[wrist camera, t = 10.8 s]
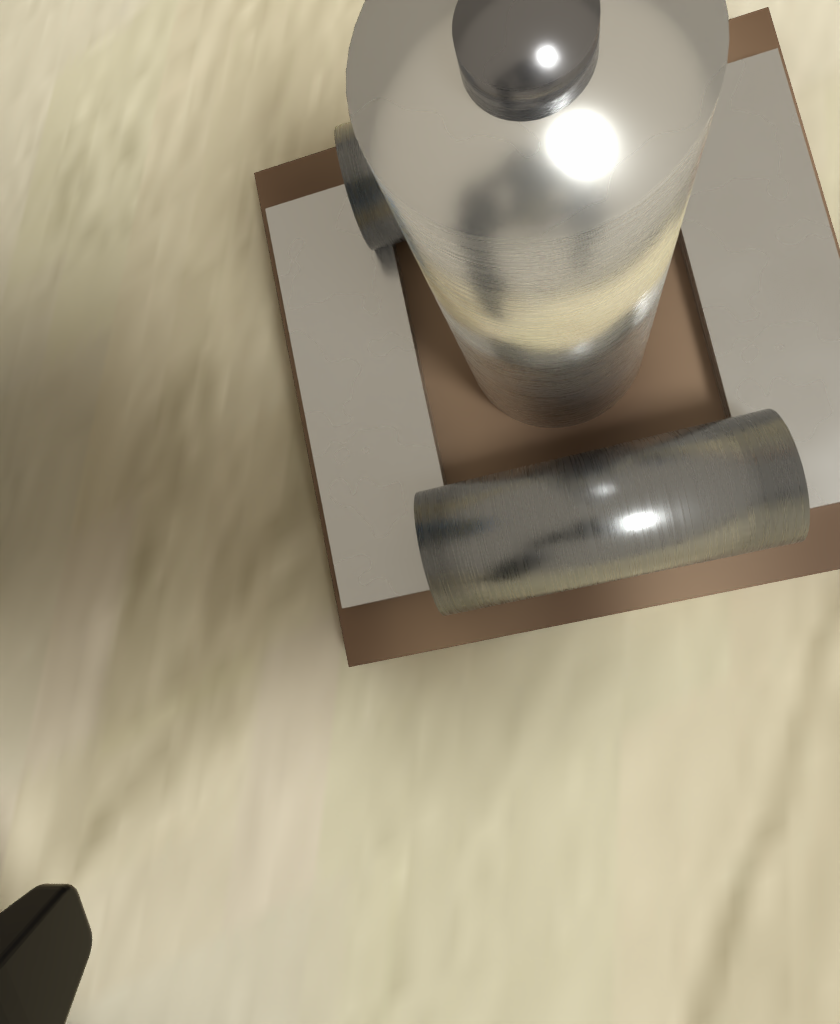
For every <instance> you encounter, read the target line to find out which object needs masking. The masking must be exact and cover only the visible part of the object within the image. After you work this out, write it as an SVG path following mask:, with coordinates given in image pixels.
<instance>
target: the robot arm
mask: <svg viewBox="0 0 840 1024" xmlns="http://www.w3.org/2000/svg"><path fill="white" fill-rule="evenodd" d="M91 947H92V932H91V928H90V925H89V923H88V920H87V917H86V914H85V911H84V908H83V905H82V902H81V900H80V897H79V894H78V892H77V890H76V888H74V887H73V886H72V885H69V884H42V885H39V886H37V887H35V888H33V889H32V890H30V891H29V892H28V893H26V894H25V895H24V896H22V897H21V898H20V899H18V900H17V901H16V902H14V903H13V904H12V905H10V906H9V907H8V908H6V909H5V910H4V911H2V912H1V913H0V1024H65V1022H66V1019H67V1016H68V1014H69V1011H70V1008H71V1005H72V1003H73V1000H74V997H75V994H76V991H77V989H78V986H79V983H80V980H81V978H82V975H83V972H84V969H85V967H86V964H87V961H88V958H89V955H90V952H91Z"/></svg>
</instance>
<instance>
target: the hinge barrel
mask: <svg viewBox="0 0 840 1024" xmlns="http://www.w3.org/2000/svg"><path fill="white" fill-rule="evenodd" d="M728 48H729V21H728V11H727V6H726V1H725V0H365V2H364V4H363V7H362V9H361V12H360V14H359V17H358V19H357V22H356V24H355V27H354V31H353V35H352V39H351V43H350V47H349V53H348V60H347V68H346V95H347V102H348V110H349V116H350V119H351V123H352V126H353V130H354V133H355V137H356V139H357V141H358V143H359V146H360V148H361V150H362V152H363V155H364V157H365V159H366V161H367V163H368V165H369V167H370V169H371V171H372V173H373V175H374V177H375V179H376V181H377V183H378V185H379V187H380V189H381V191H382V193H383V195H384V197H385V199H386V201H387V203H388V205H389V207H390V209H391V211H392V213H393V215H394V217H395V219H396V221H397V223H398V225H399V227H400V229H401V231H402V233H403V235H404V237H405V239H406V241H407V243H408V245H409V247H410V249H411V251H412V253H413V255H414V257H415V259H416V261H417V263H418V265H419V267H420V269H421V271H422V273H423V275H424V277H425V279H426V281H427V283H428V285H429V287H430V289H431V291H432V293H433V295H434V297H435V299H436V301H437V303H438V305H439V307H440V309H441V311H442V313H443V315H444V317H445V319H446V321H447V323H448V325H449V327H450V329H451V331H452V333H453V335H454V337H455V339H456V341H457V343H458V345H459V347H460V349H461V351H462V353H463V355H464V357H465V359H466V361H467V363H468V365H469V367H470V369H471V371H472V373H473V375H474V377H475V379H476V381H477V383H478V385H479V387H480V388H481V390H482V391H483V393H484V394H485V396H486V397H487V398H488V399H489V400H490V402H491V403H492V404H493V405H495V406H496V407H497V408H498V409H499V410H500V411H502V412H503V413H505V414H506V415H507V416H509V417H511V418H513V419H515V420H517V421H519V422H522V423H525V424H528V425H532V426H537V427H543V428H563V427H569V426H575V425H578V424H581V423H584V422H587V421H589V420H591V419H594V418H596V417H598V416H599V415H601V414H602V413H604V412H606V411H607V410H608V409H610V408H611V407H612V406H613V405H615V404H616V403H617V402H618V401H619V400H620V399H621V397H622V396H623V395H624V394H625V393H626V391H627V390H628V389H629V387H630V386H631V384H632V383H633V381H634V379H635V377H636V375H637V373H638V370H639V368H640V365H641V362H642V358H643V355H644V351H645V348H646V344H647V341H648V338H649V334H650V331H651V327H652V324H653V320H654V317H655V314H656V310H657V307H658V303H659V300H660V296H661V293H662V290H663V286H664V283H665V279H666V276H667V272H668V269H669V266H670V262H671V259H672V255H673V252H674V248H675V245H676V242H677V238H678V235H679V231H680V228H681V224H682V221H683V217H684V214H685V211H686V207H687V204H688V200H689V197H690V193H691V190H692V187H693V183H694V180H695V176H696V173H697V169H698V166H699V163H700V159H701V156H702V152H703V149H704V145H705V142H706V139H707V135H708V132H709V128H710V125H711V121H712V118H713V115H714V111H715V108H716V104H717V101H718V97H719V94H720V91H721V87H722V83H723V78H724V74H725V70H726V66H727V59H728Z"/></svg>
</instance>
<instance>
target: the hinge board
mask: <svg viewBox="0 0 840 1024" xmlns="http://www.w3.org/2000/svg"><path fill="white" fill-rule="evenodd" d="M728 21H729V48H728V59H727V64H728V63H731V62H735V61H738V60H741V59H744V58H747V57H751V56H754V55H757V54H760V53H763V52H767V51H770V50H773V49H776V48H778V51H779V54H780V57H781V61H782V64H783V68H784V71H785V74H786V78H787V81H788V85H789V88H790V91H791V95H792V98H793V102H794V105H795V109H796V112H797V115H798V119H799V122H800V126H801V129H802V132H803V136H804V139H805V143H806V146H807V149H808V153H809V156H810V160H811V163H812V166H813V170H814V173H815V177H816V180H817V183H818V187H819V190H820V194H821V197H822V200H823V204H824V207H825V211H826V214H827V217H828V221H829V224H830V228H831V231H832V234H833V238H834V241H835V245H836V248H837V251H838V255H839V258H840V249H839V245H838V242H837V239H836V235H835V232H834V228H833V225H832V222H831V218H830V215H829V211H828V208H827V205H826V201H825V198H824V195H823V191H822V188H821V184H820V181H819V178H818V174H817V171H816V167H815V164H814V161H813V157H812V154H811V150H810V147H809V144H808V140H807V137H806V133H805V130H804V127H803V123H802V120H801V116H800V113H799V110H798V106H797V103H796V99H795V96H794V93H793V89H792V86H791V82H790V79H789V76H788V72H787V69H786V65H785V62H784V59H783V55H782V52H781V49H780V45H779V42H778V38H777V35H776V32H775V28H774V25H773V21H772V18H771V15H770V11H769V8H768V7H767V8H764V9H760V10H757V11H754V12H751V13H748V14H745V15H742V16H739V17H736V18H733V19H729V20H728ZM254 174H255V180H256V185H257V190H258V195H259V201H260V206H261V211H262V216H263V221H264V227H265V232H266V237H267V242H268V247H269V253H270V258H271V263H272V268H273V274H274V279H275V284H276V289H277V294H278V300H279V305H280V310H281V315H282V321H283V326H284V331H285V336H286V341H287V347H288V352H289V357H290V362H291V368H292V373H293V378H294V383H295V388H296V394H297V399H298V404H299V409H300V414H301V420H302V425H303V430H304V435H305V441H306V446H307V451H308V456H309V461H310V467H311V472H312V477H313V482H314V488H315V493H316V498H317V503H318V508H319V514H320V519H321V524H322V529H323V535H324V540H325V545H326V550H327V555H328V561H329V566H330V571H331V576H332V581H333V587H334V592H335V597H336V602H337V608H338V613H339V618H340V623H341V628H342V634H343V639H344V644H345V649H346V655H347V660H348V665H349V667H352V666H357V665H362V664H367V663H372V662H377V661H382V660H387V659H392V658H397V657H402V656H407V655H412V654H417V653H422V652H427V651H432V650H437V649H442V648H447V647H452V646H457V645H462V644H467V643H472V642H477V641H482V640H487V639H492V638H497V637H502V636H507V635H512V634H517V633H522V632H527V631H532V630H537V629H542V628H547V627H552V626H557V625H562V624H567V623H572V622H577V621H582V620H587V619H592V618H597V617H602V616H607V615H612V614H617V613H622V612H627V611H632V610H637V609H642V608H647V607H652V606H657V605H662V604H667V603H672V602H677V601H682V600H687V599H692V598H697V597H702V596H707V595H712V594H717V593H722V592H727V591H732V590H737V589H742V588H747V587H752V586H757V585H762V584H767V583H772V582H777V581H782V580H787V579H792V578H797V577H802V576H807V575H812V574H817V573H822V572H827V571H832V570H837V569H840V503H835V504H831V505H826V506H821V507H817V508H812V509H810V525H809V531H808V534H807V537H806V539H805V540H804V541H802V542H799V543H794V544H789V545H784V546H779V547H775V548H770V549H765V550H760V551H755V552H751V553H746V554H741V555H736V556H731V557H726V558H722V559H717V560H712V561H707V562H702V563H698V564H693V565H688V566H683V567H678V568H673V569H669V570H664V571H659V572H654V573H649V574H644V575H640V576H635V577H630V578H625V579H620V580H616V581H611V582H606V583H601V584H596V585H591V586H587V587H582V588H577V589H572V590H567V591H563V592H558V593H553V594H548V595H543V596H538V597H534V598H529V599H524V600H519V601H514V602H510V603H505V604H500V605H495V606H490V607H485V608H481V609H476V610H471V611H466V612H461V613H456V614H452V615H447V616H443V615H442V614H441V613H440V612H439V610H438V608H437V606H436V604H435V602H434V600H433V597H432V594H431V592H430V590H429V591H424V592H420V593H415V594H410V595H406V596H401V597H396V598H392V599H387V600H382V601H378V602H373V603H368V604H364V605H359V606H354V607H350V608H342V606H341V600H340V595H339V590H338V585H337V580H336V574H335V569H334V564H333V559H332V554H331V548H330V543H329V538H328V533H327V528H326V522H325V517H324V512H323V507H322V502H321V496H320V491H319V486H318V481H317V476H316V470H315V465H314V460H313V455H312V450H311V444H310V439H309V434H308V429H307V424H306V418H305V413H304V408H303V403H302V398H301V392H300V387H299V382H298V377H297V372H296V366H295V361H294V356H293V351H292V346H291V340H290V335H289V330H288V325H287V320H286V314H285V309H284V304H283V299H282V294H281V288H280V283H279V278H278V273H277V268H276V262H275V257H274V252H273V247H272V242H271V236H270V231H269V226H268V221H267V216H266V210H265V209H266V208H269V207H272V206H276V205H279V204H282V203H285V202H288V201H292V200H295V199H298V198H301V197H304V196H307V195H311V194H314V193H317V192H320V191H323V190H327V189H330V188H333V187H336V186H339V185H343V184H344V181H343V177H342V173H341V169H340V165H339V161H338V156H337V150H336V147H333V148H330V149H327V150H324V151H321V152H318V153H315V154H312V155H308V156H305V157H302V158H299V159H296V160H293V161H290V162H287V163H284V164H281V165H278V166H274V167H271V168H268V169H265V170H262V171H259V172H256V173H254ZM395 245H396V250H397V254H398V259H399V264H400V268H401V273H402V278H403V282H404V287H405V292H406V296H407V301H408V306H409V310H410V315H411V320H412V324H413V329H414V334H415V338H416V343H417V348H418V352H419V357H420V362H421V366H422V371H423V376H424V380H425V385H426V390H427V394H428V399H429V404H430V408H431V413H432V418H433V422H434V427H435V432H436V436H437V441H438V445H439V450H440V455H441V459H442V464H443V469H444V473H445V478H446V483H447V485H448V484H453V483H457V482H461V481H465V480H469V479H474V478H478V477H482V476H486V475H490V474H495V473H499V472H503V471H507V470H512V469H516V468H520V467H524V466H528V465H533V464H537V463H541V462H545V461H549V460H554V459H558V458H562V457H566V456H570V455H575V454H579V453H583V452H587V451H592V450H596V449H600V448H604V447H608V446H613V445H617V444H621V443H625V442H629V441H634V440H638V439H642V438H646V437H651V436H655V435H659V434H663V433H667V432H672V431H676V430H680V429H684V428H688V427H693V426H697V425H701V424H705V423H710V422H714V421H718V420H722V419H726V418H725V414H724V411H723V407H722V403H721V399H720V396H719V392H718V388H717V384H716V380H715V377H714V373H713V369H712V365H711V362H710V358H709V354H708V350H707V347H706V343H705V339H704V335H703V332H702V328H701V324H700V320H699V317H698V313H697V309H696V305H695V301H694V298H693V294H692V290H691V286H690V283H689V279H688V275H687V271H686V268H685V264H684V260H683V256H682V253H681V249H680V245H679V241H678V238H677V242H676V245H675V248H674V252H673V255H672V259H671V262H670V266H669V269H668V272H667V276H666V279H665V283H664V286H663V290H662V293H661V296H660V300H659V303H658V307H657V310H656V314H655V317H654V320H653V324H652V327H651V331H650V334H649V338H648V341H647V344H646V348H645V351H644V355H643V358H642V362H641V365H640V368H639V370H638V373H637V375H636V377H635V379H634V381H633V383H632V384H631V386H630V387H629V389H628V390H627V391H626V393H625V394H624V395H623V396H622V397H621V399H620V400H619V401H618V402H617V403H616V404H615V405H613V406H612V407H611V408H610V409H608V410H607V411H606V412H604V413H602V414H601V415H599V416H598V417H596V418H594V419H591V420H589V421H587V422H584V423H581V424H578V425H575V426H569V427H563V428H543V427H537V426H532V425H528V424H525V423H522V422H519V421H517V420H515V419H513V418H511V417H509V416H507V415H506V414H505V413H503V412H502V411H500V410H499V409H498V408H497V407H496V406H495V405H493V404H492V403H491V402H490V400H489V399H488V398H487V397H486V396H485V394H484V393H483V391H482V390H481V388H480V387H479V385H478V383H477V381H476V379H475V377H474V375H473V373H472V371H471V369H470V367H469V365H468V363H467V361H466V359H465V357H464V355H463V353H462V351H461V349H460V347H459V345H458V343H457V341H456V339H455V337H454V335H453V333H452V331H451V329H450V327H449V325H448V323H447V321H446V319H445V317H444V315H443V313H442V311H441V309H440V307H439V305H438V303H437V301H436V299H435V297H434V295H433V293H432V291H431V289H430V287H429V285H428V283H427V281H426V279H425V277H424V275H423V273H422V271H421V269H420V267H419V265H418V263H417V261H416V259H415V257H414V255H413V253H412V251H411V249H410V247H409V245H408V243H407V241H402V242H399V243H396V244H395Z"/></svg>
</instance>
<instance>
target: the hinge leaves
mask: <svg viewBox="0 0 840 1024" xmlns="http://www.w3.org/2000/svg"><path fill="white" fill-rule="evenodd" d="M335 144H336V150H337V156H338V161H339V165H340V169H341V173H342V177H343V181H344V184H343V185H339V186H336V187H333V188H330V189H327V190H323V191H320V192H317V193H314V194H311V195H307V196H304V197H301V198H298V199H295V200H292V201H288V202H285V203H282V204H279V205H276V206H272V207H269V208H266V209H265V210H266V216H267V221H268V226H269V231H270V236H271V242H272V247H273V252H274V257H275V262H276V268H277V273H278V278H279V283H280V288H281V294H282V299H283V304H284V309H285V314H286V320H287V325H288V330H289V335H290V340H291V346H292V351H293V356H294V361H295V366H296V372H297V377H298V382H299V387H300V392H301V398H302V403H303V408H304V413H305V418H306V424H307V429H308V434H309V439H310V444H311V450H312V455H313V460H314V465H315V470H316V476H317V481H318V486H319V491H320V496H321V502H322V507H323V512H324V517H325V522H326V528H327V533H328V538H329V543H330V548H331V554H332V559H333V564H334V569H335V574H336V580H337V585H338V590H339V595H340V600H341V606H342V608H350V607H354V606H359V605H364V604H368V603H373V602H378V601H382V600H387V599H392V598H396V597H401V596H406V595H410V594H415V593H420V592H424V591H429V590H430V592H431V594H432V597H433V600H434V602H435V604H436V606H437V608H438V610H439V612H440V613H441V614H442V615H443V616H447V615H452V614H456V613H461V612H466V611H471V610H476V609H481V608H485V607H490V606H495V605H500V604H505V603H510V602H514V601H519V600H524V599H529V598H534V597H538V596H543V595H548V594H553V593H558V592H563V591H567V590H572V589H577V588H582V587H587V586H591V585H596V584H601V583H606V582H611V581H616V580H620V579H625V578H630V577H635V576H640V575H644V574H649V573H654V572H659V571H664V570H669V569H673V568H678V567H683V566H688V565H693V564H698V563H702V562H707V561H712V560H717V559H722V558H726V557H731V556H736V555H741V554H746V553H751V552H755V551H760V550H765V549H770V548H775V547H779V546H784V545H789V544H794V543H799V542H802V541H804V540H805V539H806V537H807V534H808V531H809V525H810V509H812V508H817V507H821V506H826V505H831V504H835V503H840V258H839V255H838V251H837V248H836V245H835V241H834V238H833V234H832V231H831V228H830V224H829V221H828V217H827V214H826V211H825V207H824V204H823V200H822V197H821V194H820V190H819V187H818V183H817V180H816V177H815V173H814V170H813V166H812V163H811V160H810V156H809V153H808V149H807V146H806V143H805V139H804V136H803V132H802V129H801V126H800V122H799V119H798V115H797V112H796V109H795V105H794V102H793V98H792V95H791V91H790V88H789V85H788V81H787V78H786V74H785V71H784V68H783V64H782V61H781V57H780V54H779V51H778V48H776V49H773V50H770V51H767V52H763V53H760V54H757V55H754V56H751V57H747V58H744V59H741V60H738V61H735V62H731V63H728V64H727V66H726V70H725V74H724V78H723V83H722V87H721V91H720V94H719V97H718V101H717V104H716V108H715V111H714V115H713V118H712V121H711V125H710V128H709V132H708V135H707V139H706V142H705V145H704V149H703V152H702V156H701V159H700V163H699V166H698V169H697V173H696V176H695V180H694V183H693V187H692V190H691V193H690V197H689V200H688V204H687V207H686V211H685V214H684V217H683V221H682V224H681V228H680V231H679V235H678V241H679V245H680V249H681V253H682V256H683V260H684V264H685V268H686V271H687V275H688V279H689V283H690V286H691V290H692V294H693V298H694V301H695V305H696V309H697V313H698V317H699V320H700V324H701V328H702V332H703V335H704V339H705V343H706V347H707V350H708V354H709V358H710V362H711V365H712V369H713V373H714V377H715V380H716V384H717V388H718V392H719V396H720V399H721V403H722V407H723V411H724V414H725V418H726V419H722V420H718V421H714V422H710V423H705V424H701V425H697V426H693V427H688V428H684V429H680V430H676V431H672V432H667V433H663V434H659V435H655V436H651V437H646V438H642V439H638V440H634V441H629V442H625V443H621V444H617V445H613V446H608V447H604V448H600V449H596V450H592V451H587V452H583V453H579V454H575V455H570V456H566V457H562V458H558V459H554V460H549V461H545V462H541V463H537V464H533V465H528V466H524V467H520V468H516V469H512V470H507V471H503V472H499V473H495V474H490V475H486V476H482V477H478V478H474V479H469V480H465V481H461V482H457V483H453V484H448V485H447V483H446V478H445V473H444V469H443V464H442V459H441V455H440V450H439V445H438V441H437V436H436V432H435V427H434V422H433V418H432V413H431V408H430V404H429V399H428V394H427V390H426V385H425V380H424V376H423V371H422V366H421V362H420V357H419V352H418V348H417V343H416V338H415V334H414V329H413V324H412V320H411V315H410V310H409V306H408V301H407V296H406V292H405V287H404V282H403V278H402V273H401V268H400V264H399V259H398V254H397V250H396V245H395V244H396V243H399V242H402V241H406V239H405V237H404V235H403V233H402V231H401V229H400V227H399V225H398V223H397V221H396V219H395V217H394V215H393V213H392V211H391V209H390V207H389V205H388V203H387V201H386V199H385V197H384V195H383V193H382V191H381V189H380V187H379V185H378V183H377V181H376V179H375V177H374V175H373V173H372V171H371V169H370V167H369V165H368V163H367V161H366V159H365V157H364V155H363V152H362V150H361V148H360V146H359V143H358V141H357V139H356V137H355V133H354V130H353V126H352V123H351V122H348V123H345V124H342V125H339V126H336V127H335Z"/></svg>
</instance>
